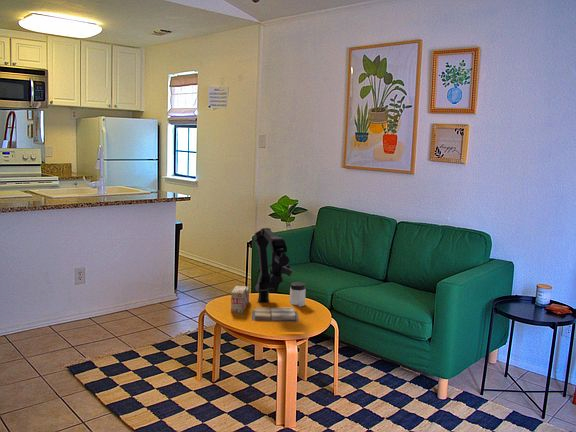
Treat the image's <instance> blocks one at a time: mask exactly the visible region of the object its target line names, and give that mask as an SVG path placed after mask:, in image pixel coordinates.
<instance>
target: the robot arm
mask: <svg viewBox="0 0 576 432" xmlns="http://www.w3.org/2000/svg"><path fill="white" fill-rule="evenodd" d="M253 242H254V246H255V247H256V248H257V251H258V261H259V265H258V266H259V273H260V274H259V276H258V277H257V283H256V285H255V291H256V292H257V293H258V298H257V303H263V304H264V303H265V304H266V303H267V304H268V303H270V296H269V295H270V292H274V293H278V289H279V287H280V284H281V283H283V279H284V278H283V274H284V275H287V276H288V277H291V276H292V273H293V269H292V268H291V266H290V265H289V263H290V258H289V257H288V256H287V254H286V253H287V252H288V247H287V244H286V241H285V239H284V238H283V237H281V236H277V235H276V234H275V233H274V232H273V231H272V229H271V228H269V227H263V228H261V229H260V230H258V231H256V232H255V233H254V235H253ZM268 246H269V248H270V252H271V262H270V269H269V264H268V263H269V262H268V251H267V248H268Z"/></svg>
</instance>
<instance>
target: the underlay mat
mask: <svg viewBox="0 0 576 432" xmlns="http://www.w3.org/2000/svg"><path fill="white" fill-rule="evenodd" d="M294 312H295V320H272V317H271V320H255V309H253V310H252V311H251V321H252V322H253V321H254V322H257V321H259V322H295V323H296V322H297V323H299V322H300V320H299V319H300V318H299V313H298V311H297V310H294Z"/></svg>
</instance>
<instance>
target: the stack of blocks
mask: <svg viewBox="0 0 576 432" xmlns="http://www.w3.org/2000/svg"><path fill="white" fill-rule="evenodd" d="M230 296H231V297H230V304H231V305H230V313H233V314H234V313H235V314H243V313H244V312H245V309H246V307H247V305H248V304H249V302H250V287H249V286H245V285H244V286H243V285H235V286H234V288H233V289H232V291H231V294H230Z"/></svg>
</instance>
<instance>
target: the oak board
mask: <svg viewBox="0 0 576 432" xmlns="http://www.w3.org/2000/svg"><path fill="white" fill-rule="evenodd" d="M254 308H255V309H254V310H255V320H271V307H262V306H261V307H254Z"/></svg>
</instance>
